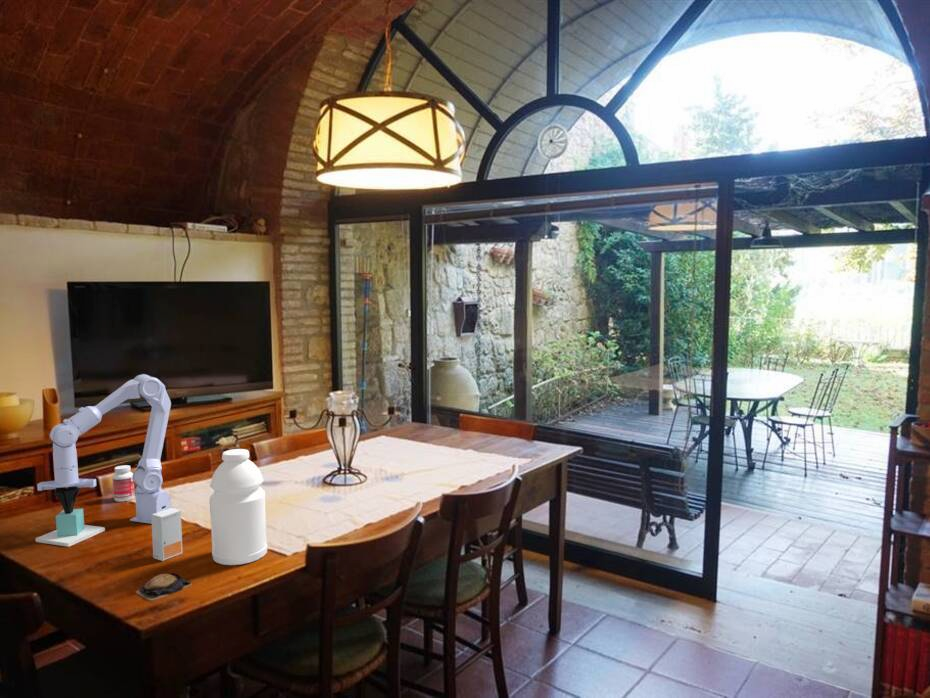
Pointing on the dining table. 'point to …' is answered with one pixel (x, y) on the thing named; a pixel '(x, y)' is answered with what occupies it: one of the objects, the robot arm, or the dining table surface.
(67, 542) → the post base
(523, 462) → the dining table surface
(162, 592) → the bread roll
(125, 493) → the pill bottle
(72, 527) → the teal toy cube
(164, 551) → the skincare box
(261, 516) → the bottle
